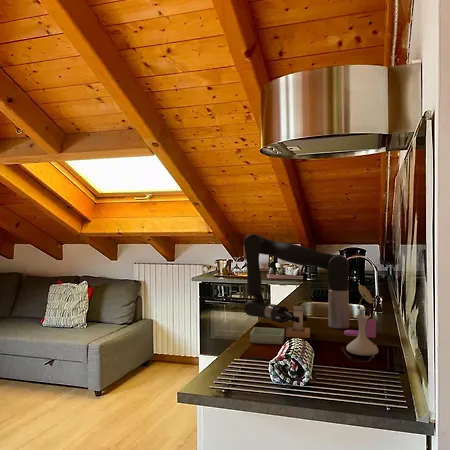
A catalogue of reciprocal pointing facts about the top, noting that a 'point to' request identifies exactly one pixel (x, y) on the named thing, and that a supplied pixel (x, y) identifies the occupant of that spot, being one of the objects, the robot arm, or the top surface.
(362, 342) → the flower in vase
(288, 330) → the fuse holder
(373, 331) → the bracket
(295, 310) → the cylinder
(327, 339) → the top surface
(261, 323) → the top surface
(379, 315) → the top surface
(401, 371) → the top surface
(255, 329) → the tray
